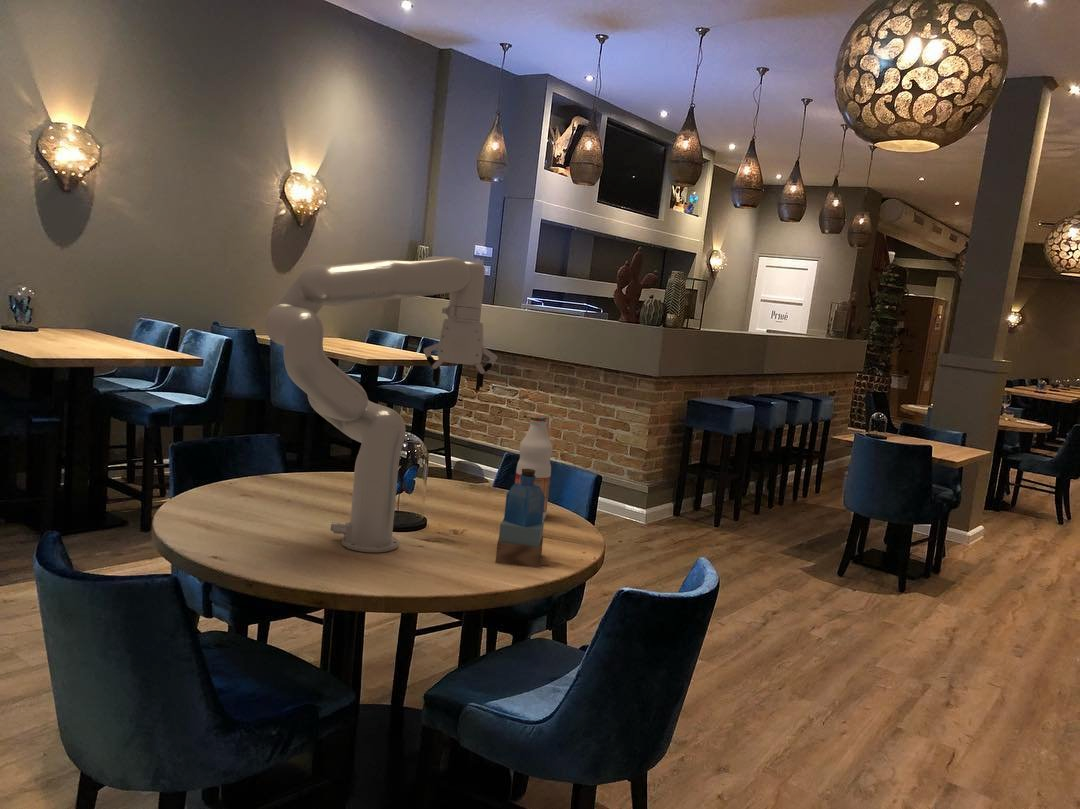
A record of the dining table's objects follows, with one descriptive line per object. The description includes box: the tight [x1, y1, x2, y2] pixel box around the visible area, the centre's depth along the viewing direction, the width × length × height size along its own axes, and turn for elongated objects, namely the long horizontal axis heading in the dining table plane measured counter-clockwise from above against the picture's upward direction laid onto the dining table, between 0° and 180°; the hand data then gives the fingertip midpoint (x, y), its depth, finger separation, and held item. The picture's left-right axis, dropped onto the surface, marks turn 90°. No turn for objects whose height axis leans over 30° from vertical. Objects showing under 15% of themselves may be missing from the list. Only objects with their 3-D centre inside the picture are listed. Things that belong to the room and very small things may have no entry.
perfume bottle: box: [503, 469, 545, 527], centre depth 193 cm, size 6×6×12 cm
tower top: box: [498, 518, 545, 547], centre depth 194 cm, size 9×9×4 cm
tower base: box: [494, 535, 544, 569], centre depth 194 cm, size 10×10×5 cm
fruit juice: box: [514, 414, 554, 521], centre depth 232 cm, size 9×9×28 cm
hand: (457, 387), depth 200 cm, fingers open, 9 cm apart
